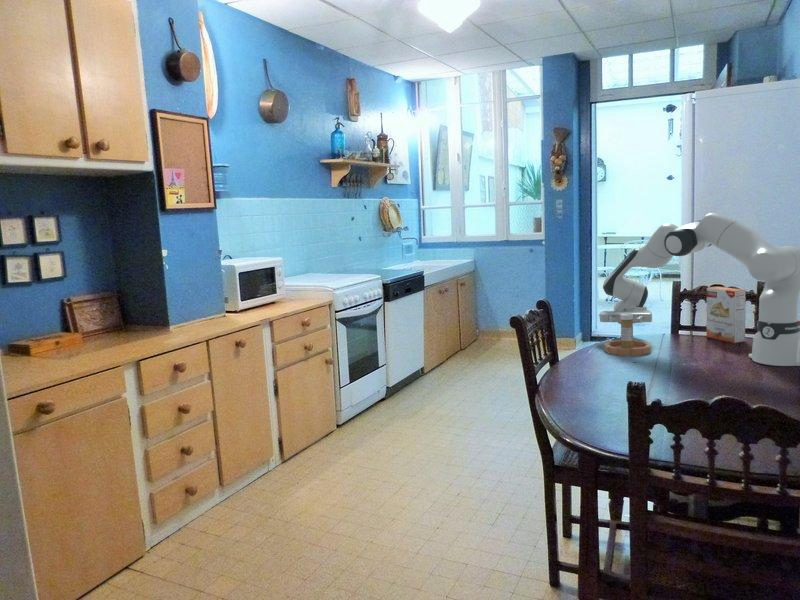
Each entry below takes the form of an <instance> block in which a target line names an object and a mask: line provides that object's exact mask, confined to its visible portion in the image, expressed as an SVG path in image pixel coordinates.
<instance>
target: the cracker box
mask: <svg viewBox="0 0 800 600" xmlns="http://www.w3.org/2000/svg"><path fill="white" fill-rule="evenodd" d="M746 292H747V290H746V289H740V288H731V287H724V286H711V287H706V338H708V339H709V338H710V339H713V340H718V341H722V342H727V343H731V344H740V343H744V342H746V312H747V311H746V308H747V306H746V305H747V304H746V298H747V296H746V295H747V294H746Z"/></svg>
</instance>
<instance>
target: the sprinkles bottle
mask: <svg viewBox="0 0 800 600" xmlns="http://www.w3.org/2000/svg"><path fill="white" fill-rule="evenodd" d="M620 319H621V324H620V340H621V348H633V340H634V323H633V314H630V313H624V314H621V315H620Z"/></svg>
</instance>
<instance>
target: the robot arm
mask: <svg viewBox="0 0 800 600" xmlns="http://www.w3.org/2000/svg"><path fill="white" fill-rule="evenodd" d="M710 246H714V247H716V249H719V250H720V251H721V252H723V253H726V255H729V256H730V257H732V258H734V259H735V260H737V261H738V262H739V263H740V264H741V265H743V266H744V267H745V268H746V270H748V273H749V275H750V276H751V277H752V278H753V279H755V280H757V281H760V282H764V283H765V284H764V287H763V289H762V291H761V294H760V296H759V298H758V301H759V303H758V304H759V305H758V320H757V322H756V330H757V332H756V333H755V334H754V335H753V338H752V348H751V349H752V350H751V352H750V353H748V358H749V359H752V361H753V362H756V363H758V364H762V365H768V366H774V367H775V366H776V367H777V366H778V367H800V320H799V319H798V309H799V296H800V247H797V246H792V245H784V246H776V245H772V244H771V243H769V242H767V240H765V239H764V238H763V237H762V236H761V235H760V233H759V232H758V231H756V230H754V229H753V228H750V227H749V226H747V225H745V224H743V223H742V222H739V221H737V220H735V219H733V218H731V217H729V216H726V215H724V214H721V213H718V212H709V213H707V214H705V215H704V216H703V217H702V218H701V219H700V220H696V221H694V222H690V223H686V224H683V225H681V226H677V225H675V224H674V223H663V224H661V225H660V226H659V227H658V228H657V229H656V230H655V231H654V233H653V234H652V235H651V236H650V238H649V240H648V241H647V243H646V244H645V245H644V246H641V247H639V248H634V249H632V251H630V252H629V253H628V254H627V256H626V257H625V258H624V259H623V260H622V261H621V262H620V263H619V265H618V266H617V267H615V269H614V270H613V271H612V272H611V273H610V274H609V275H607V276H606V278H605V279H604V281H603V285H602V289H603V292H604V293H605V294H606V295H608V296H611V297H614V298H616V299H619V300H618V301H617V302H616V303H615V304H614V307H613V310H603V311H601V312H599V314H598V316H599V322H600V323H618V324H620V325H621V319H620V315H621V314H624V313H630V314H633V324H638V323H640V324H641V323H652V322H653V314H652V311H651V310H650V309H648V307H647V306H645V304H646V301H647V300H648V295H649V291H648V287H647V285H646V284H642V283H640V282H638V281H637V280H633V279H631V278H628V277H626V276H625V275H626V274H627V273H628V272H629V271H630V270H631V269H632V268H648V269H658V268H663V267H665V266H667V264H668V263H670V261H671V260H672V258H673V257H684V256H687V255H689V254H693V253H696V252H699V251H700V252H701V250H704V249H705V248H708V247H710Z"/></svg>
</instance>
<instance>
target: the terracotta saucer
mask: <svg viewBox="0 0 800 600" xmlns="http://www.w3.org/2000/svg"><path fill="white" fill-rule="evenodd" d="M603 345H604V347H603V348H604V349H603V350H606V351H607V352H609V353H608V354H610V353H613V354H612V355H615V354H617V355H616V356H624V355H628V356H627V357H630V356H631V357H634V356H644V355H647V354H651V352H652V343H650V342H647V341H644V340H638V339H633V348H621V339H615V340H610V341H606V342H605V343H604V344H603ZM606 351H605V352H606ZM607 352H606V353H607Z"/></svg>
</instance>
